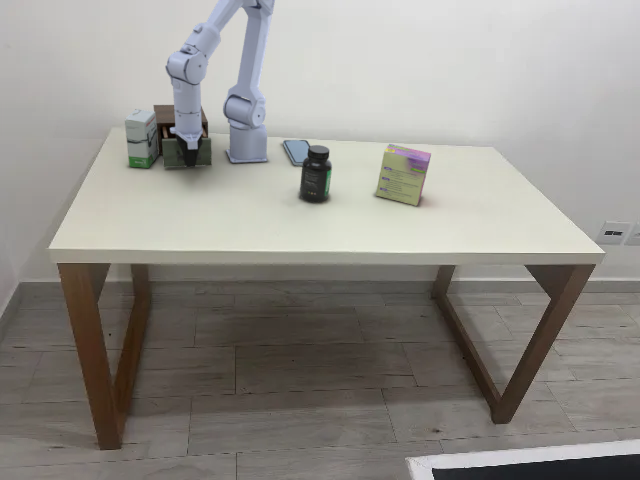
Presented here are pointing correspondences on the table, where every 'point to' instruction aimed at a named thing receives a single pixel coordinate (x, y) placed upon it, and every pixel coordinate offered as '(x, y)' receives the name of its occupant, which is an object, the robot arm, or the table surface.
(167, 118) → the cabinet
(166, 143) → the drawer
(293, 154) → the smartphone
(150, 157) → the ink box
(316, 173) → the supplement bottle
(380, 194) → the box
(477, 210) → the table surface
